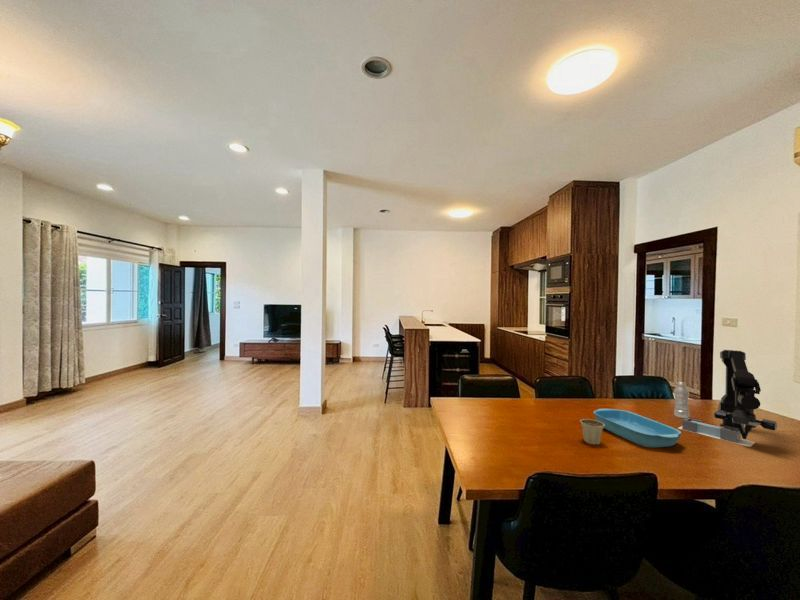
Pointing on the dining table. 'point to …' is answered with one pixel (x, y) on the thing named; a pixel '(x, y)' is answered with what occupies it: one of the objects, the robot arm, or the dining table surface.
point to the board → (741, 441)
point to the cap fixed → (690, 424)
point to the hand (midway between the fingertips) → (744, 438)
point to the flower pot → (592, 431)
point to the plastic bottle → (681, 400)
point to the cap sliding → (730, 434)
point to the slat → (708, 429)
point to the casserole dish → (637, 428)
